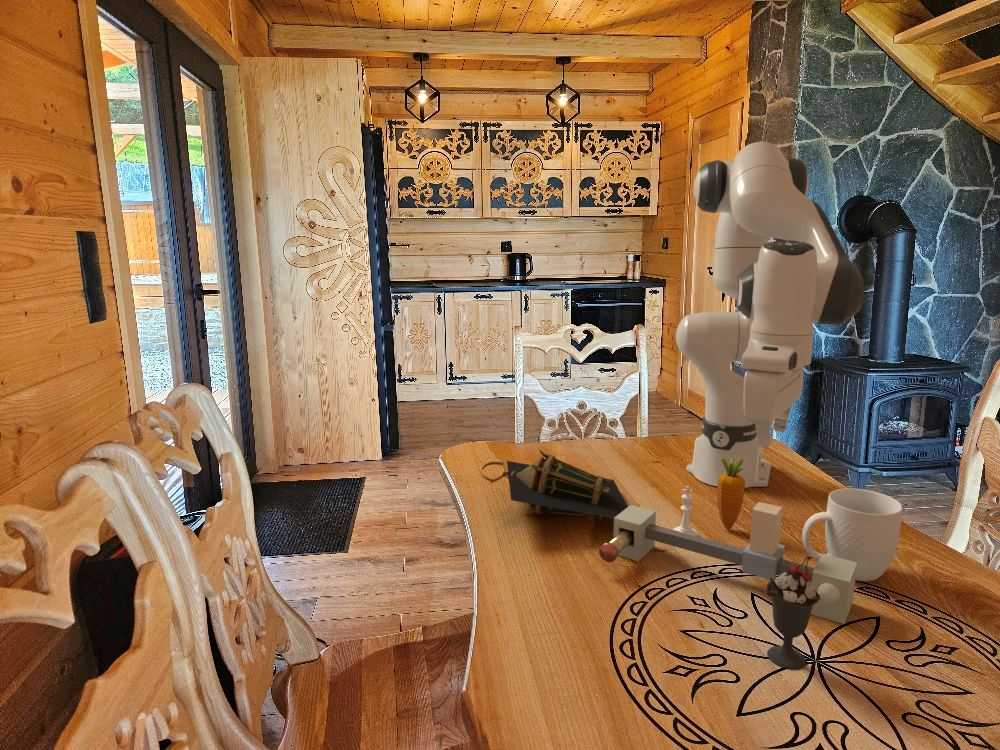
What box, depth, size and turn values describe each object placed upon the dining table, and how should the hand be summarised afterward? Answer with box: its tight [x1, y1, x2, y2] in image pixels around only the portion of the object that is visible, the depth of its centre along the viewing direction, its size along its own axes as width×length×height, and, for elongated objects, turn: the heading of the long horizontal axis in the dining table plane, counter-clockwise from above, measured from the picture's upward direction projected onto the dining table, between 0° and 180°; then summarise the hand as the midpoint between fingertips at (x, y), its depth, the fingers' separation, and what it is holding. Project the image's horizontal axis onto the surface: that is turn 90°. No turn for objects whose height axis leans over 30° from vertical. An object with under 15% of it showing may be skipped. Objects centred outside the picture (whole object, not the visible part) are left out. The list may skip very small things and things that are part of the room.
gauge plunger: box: [598, 529, 634, 563], centre depth 116 cm, size 10×3×3 cm, turn 144°
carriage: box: [741, 501, 786, 581], centre depth 107 cm, size 6×5×11 cm
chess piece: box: [672, 485, 699, 537], centre depth 126 cm, size 5×5×10 cm
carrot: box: [716, 457, 746, 531], centre depth 128 cm, size 5×5×15 cm
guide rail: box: [612, 504, 857, 625], centre depth 111 cm, size 8×38×7 cm, turn 54°
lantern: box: [480, 448, 629, 521], centre depth 136 cm, size 14×23×30 cm
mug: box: [801, 487, 903, 582], centre depth 112 cm, size 15×11×13 cm
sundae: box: [765, 555, 820, 670], centre depth 90 cm, size 7×7×15 cm
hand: (772, 437), depth 103 cm, fingers open, 8 cm apart
